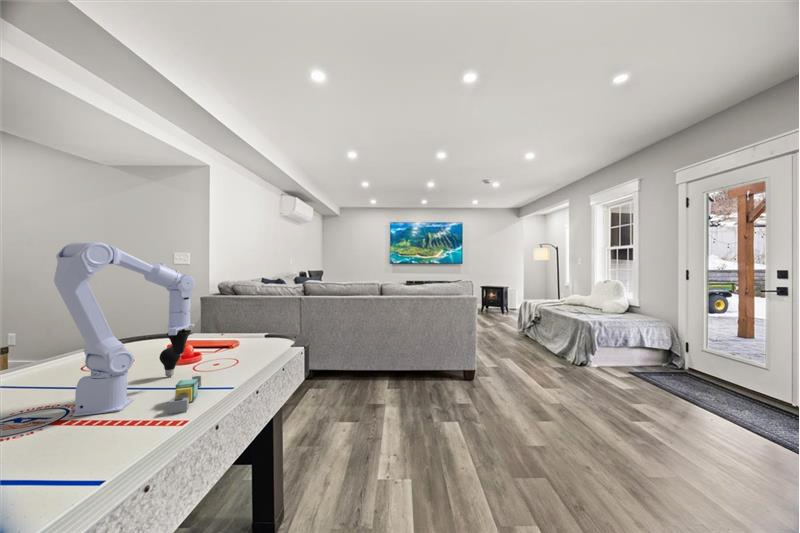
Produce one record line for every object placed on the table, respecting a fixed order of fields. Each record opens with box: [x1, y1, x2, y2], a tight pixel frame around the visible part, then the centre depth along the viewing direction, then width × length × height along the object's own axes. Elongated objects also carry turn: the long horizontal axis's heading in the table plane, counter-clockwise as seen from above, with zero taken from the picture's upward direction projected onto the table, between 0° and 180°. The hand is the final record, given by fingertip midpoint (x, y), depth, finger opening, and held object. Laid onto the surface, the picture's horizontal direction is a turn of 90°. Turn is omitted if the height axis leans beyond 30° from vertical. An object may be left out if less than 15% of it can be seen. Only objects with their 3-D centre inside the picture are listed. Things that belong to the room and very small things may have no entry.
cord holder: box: [167, 374, 203, 415], centre depth 90 cm, size 21×4×4 cm, turn 21°
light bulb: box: [159, 347, 181, 378], centre depth 108 cm, size 6×6×10 cm
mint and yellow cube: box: [174, 378, 199, 402], centre depth 88 cm, size 4×4×5 cm
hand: (178, 353), depth 100 cm, fingers closed
